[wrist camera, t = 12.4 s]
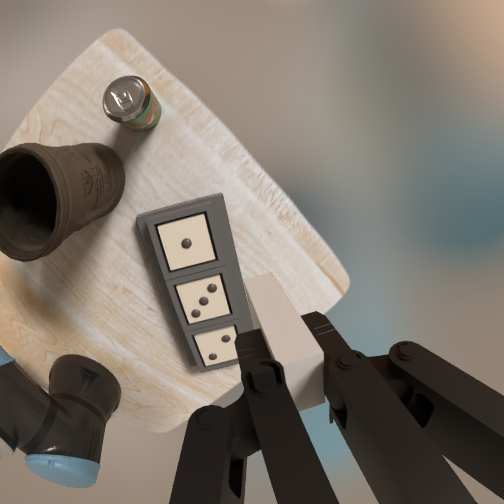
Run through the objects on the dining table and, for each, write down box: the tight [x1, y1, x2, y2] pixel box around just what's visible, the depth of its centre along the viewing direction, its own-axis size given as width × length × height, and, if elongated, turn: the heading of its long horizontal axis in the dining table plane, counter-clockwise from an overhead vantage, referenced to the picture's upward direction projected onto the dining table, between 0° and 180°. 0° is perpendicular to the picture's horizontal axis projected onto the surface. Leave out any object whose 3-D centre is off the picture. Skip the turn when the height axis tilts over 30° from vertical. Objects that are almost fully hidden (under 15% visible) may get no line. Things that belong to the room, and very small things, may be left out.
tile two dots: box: [194, 325, 238, 366], centre depth 43 cm, size 6×6×3 cm
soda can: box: [103, 76, 161, 131], centre depth 28 cm, size 5×5×12 cm
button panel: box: [136, 193, 254, 373], centre depth 41 cm, size 12×26×4 cm, turn 12°
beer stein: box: [0, 143, 125, 262], centre depth 25 cm, size 15×11×20 cm
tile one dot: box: [158, 212, 215, 270], centre depth 37 cm, size 6×6×3 cm
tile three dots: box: [177, 273, 230, 324], centre depth 40 cm, size 6×6×3 cm
